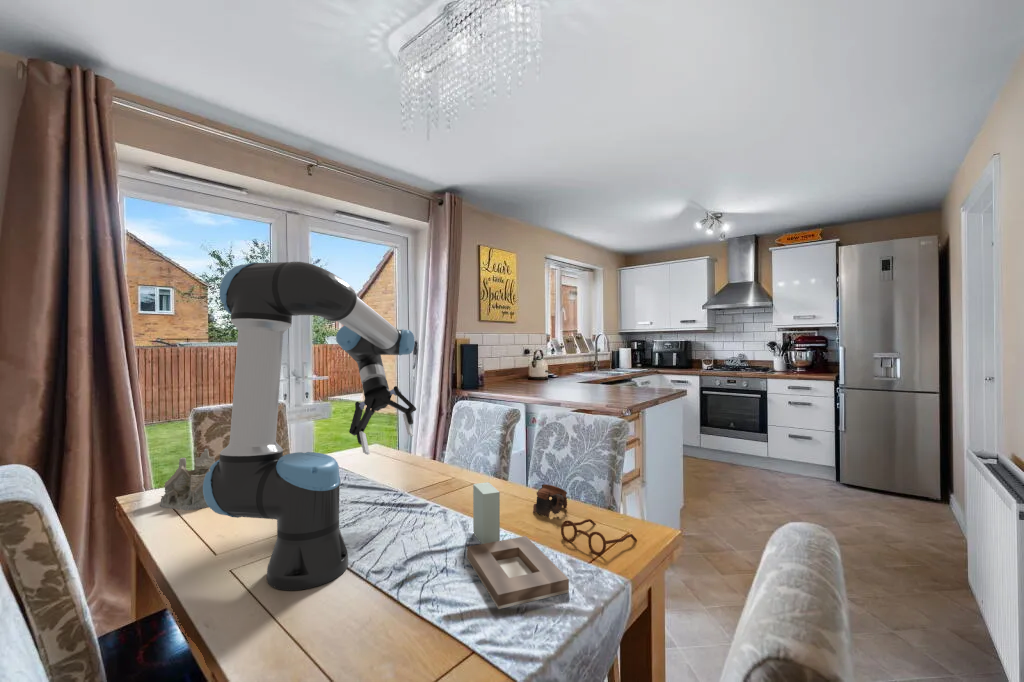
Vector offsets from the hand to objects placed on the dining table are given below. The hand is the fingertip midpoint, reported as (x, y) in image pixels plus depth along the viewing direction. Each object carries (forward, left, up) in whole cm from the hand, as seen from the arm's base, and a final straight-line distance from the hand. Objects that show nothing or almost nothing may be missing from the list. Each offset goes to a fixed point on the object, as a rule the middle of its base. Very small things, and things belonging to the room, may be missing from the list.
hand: (388, 444), depth 128 cm
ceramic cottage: (-34, +49, -18) cm, 62 cm away
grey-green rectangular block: (+1, -36, -18) cm, 40 cm away
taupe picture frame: (-8, -52, -18) cm, 55 cm away
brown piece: (+25, -40, -18) cm, 50 cm away
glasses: (+17, -58, -18) cm, 63 cm away
